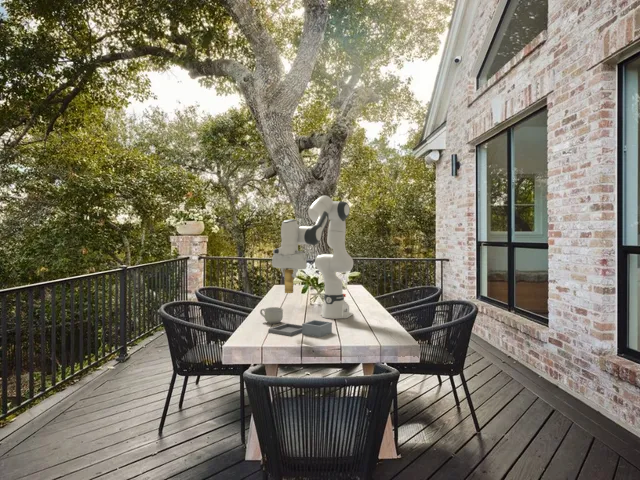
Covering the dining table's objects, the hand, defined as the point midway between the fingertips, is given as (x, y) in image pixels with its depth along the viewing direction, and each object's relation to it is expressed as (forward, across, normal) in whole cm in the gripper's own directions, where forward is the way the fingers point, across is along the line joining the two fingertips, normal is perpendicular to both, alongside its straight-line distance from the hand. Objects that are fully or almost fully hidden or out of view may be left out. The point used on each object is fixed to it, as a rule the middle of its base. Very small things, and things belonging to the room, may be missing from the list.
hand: (289, 277), depth 211 cm
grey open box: (+29, -15, -4) cm, 33 cm away
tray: (+29, 0, 0) cm, 29 cm away
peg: (+8, 0, 0) cm, 8 cm away
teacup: (+29, +23, -14) cm, 40 cm away
